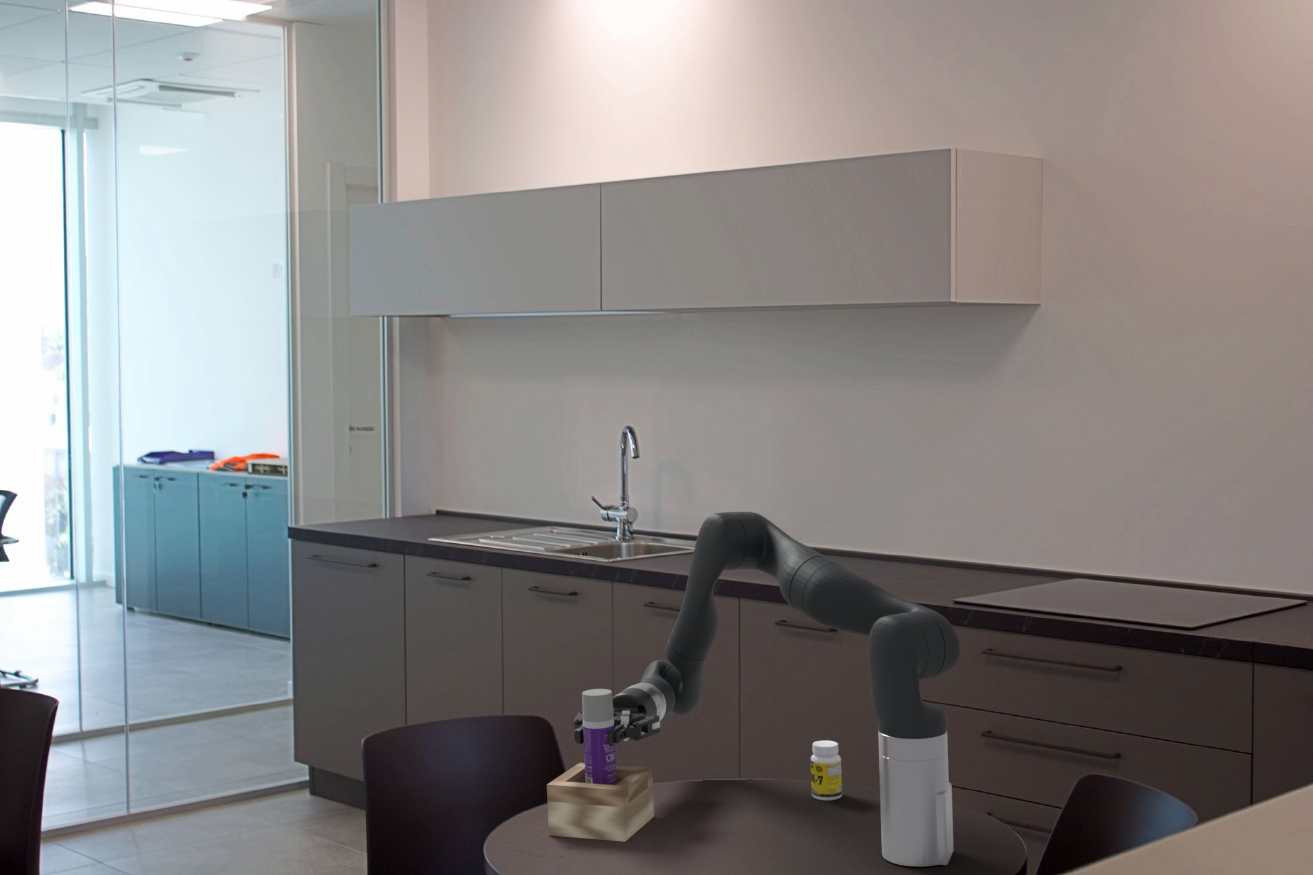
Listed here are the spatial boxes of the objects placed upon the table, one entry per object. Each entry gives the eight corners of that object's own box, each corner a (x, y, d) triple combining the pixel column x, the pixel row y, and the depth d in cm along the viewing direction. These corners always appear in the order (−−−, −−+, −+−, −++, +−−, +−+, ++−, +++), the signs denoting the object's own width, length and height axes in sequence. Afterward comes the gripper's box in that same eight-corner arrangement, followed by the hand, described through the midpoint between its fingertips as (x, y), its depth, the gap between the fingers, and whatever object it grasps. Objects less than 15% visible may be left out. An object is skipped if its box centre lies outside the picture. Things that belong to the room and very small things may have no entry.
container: (613, 796, 203) (608, 695, 203) (582, 796, 204) (577, 695, 204) (620, 787, 208) (615, 688, 207) (590, 786, 209) (585, 688, 208)
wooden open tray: (653, 816, 210) (652, 767, 209) (625, 841, 198) (623, 789, 198) (581, 810, 214) (579, 762, 214) (548, 835, 203) (546, 784, 202)
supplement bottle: (806, 794, 218) (804, 742, 218) (831, 790, 220) (829, 737, 220) (822, 802, 214) (820, 748, 213) (848, 797, 216) (846, 744, 215)
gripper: (593, 685, 222) (549, 710, 206) (677, 688, 217) (638, 715, 201) (595, 731, 223) (551, 760, 207) (679, 736, 218) (640, 766, 202)
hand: (594, 738), depth 204 cm, fingers closed on container, 4 cm apart
